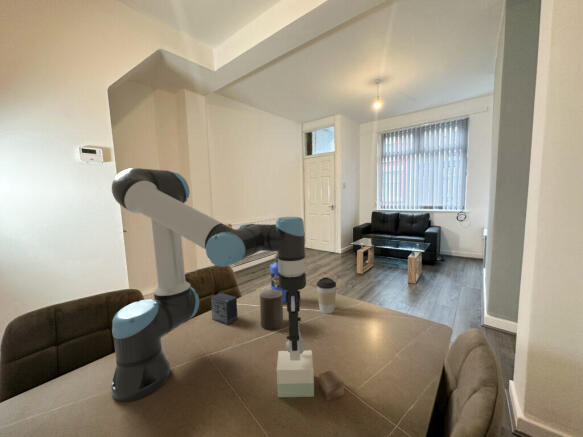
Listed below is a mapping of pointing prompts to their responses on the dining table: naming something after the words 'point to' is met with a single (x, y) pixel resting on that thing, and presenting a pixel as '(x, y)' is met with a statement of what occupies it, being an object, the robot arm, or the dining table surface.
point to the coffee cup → (326, 294)
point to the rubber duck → (302, 344)
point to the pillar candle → (271, 309)
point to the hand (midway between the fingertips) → (295, 350)
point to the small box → (224, 308)
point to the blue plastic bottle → (276, 278)
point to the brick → (331, 384)
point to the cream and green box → (295, 375)
